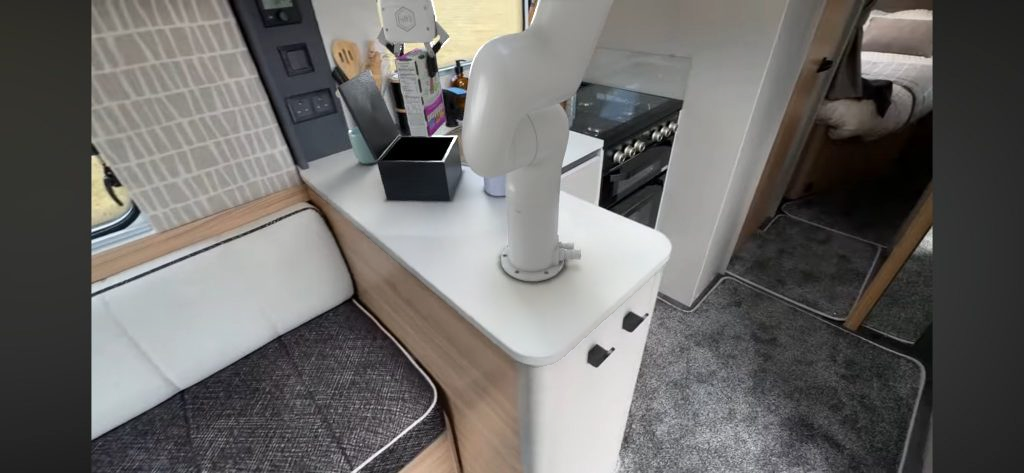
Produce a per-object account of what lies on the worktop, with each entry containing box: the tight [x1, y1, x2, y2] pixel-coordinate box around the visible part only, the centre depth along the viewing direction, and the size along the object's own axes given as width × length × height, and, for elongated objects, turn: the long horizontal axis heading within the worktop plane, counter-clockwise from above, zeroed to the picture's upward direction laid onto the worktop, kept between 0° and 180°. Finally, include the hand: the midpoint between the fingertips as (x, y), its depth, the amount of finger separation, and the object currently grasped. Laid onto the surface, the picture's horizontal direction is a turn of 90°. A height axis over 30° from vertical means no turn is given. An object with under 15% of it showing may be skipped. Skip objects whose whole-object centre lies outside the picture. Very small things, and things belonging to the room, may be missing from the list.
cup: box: [347, 126, 381, 165], centre depth 113 cm, size 8×8×10 cm
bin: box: [376, 135, 463, 202], centre depth 99 cm, size 17×17×11 cm
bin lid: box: [335, 68, 400, 160], centre depth 92 cm, size 17×17×5 cm
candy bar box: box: [394, 47, 447, 137], centre depth 83 cm, size 11×5×16 cm, turn 169°
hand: (419, 75), depth 81 cm, fingers closed on candy bar box, 5 cm apart
